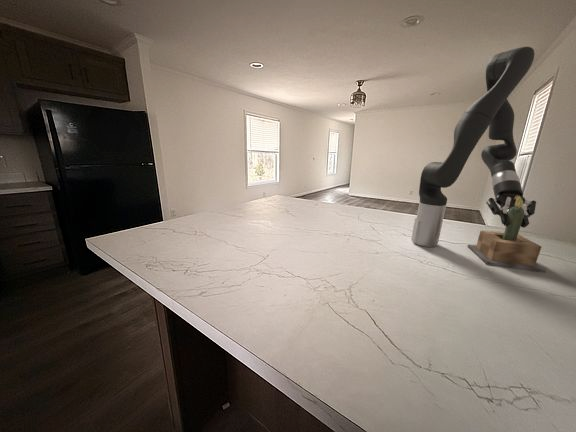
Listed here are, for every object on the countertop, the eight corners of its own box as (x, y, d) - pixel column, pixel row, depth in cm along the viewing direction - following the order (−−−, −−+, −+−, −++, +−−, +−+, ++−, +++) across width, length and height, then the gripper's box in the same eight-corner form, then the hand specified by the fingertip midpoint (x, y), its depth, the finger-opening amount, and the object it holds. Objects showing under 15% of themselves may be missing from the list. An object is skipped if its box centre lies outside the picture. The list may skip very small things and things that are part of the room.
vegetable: (516, 253, 80) (533, 197, 75) (501, 252, 81) (518, 196, 76) (507, 248, 85) (523, 195, 79) (493, 247, 85) (508, 194, 80)
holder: (486, 264, 79) (492, 242, 76) (467, 246, 93) (472, 228, 91) (545, 272, 74) (554, 250, 72) (516, 252, 89) (522, 233, 86)
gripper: (488, 178, 85) (496, 218, 77) (537, 180, 81) (551, 222, 73) (478, 190, 91) (485, 228, 84) (523, 192, 87) (534, 232, 79)
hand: (515, 225), depth 78 cm, fingers closed on vegetable, 4 cm apart
